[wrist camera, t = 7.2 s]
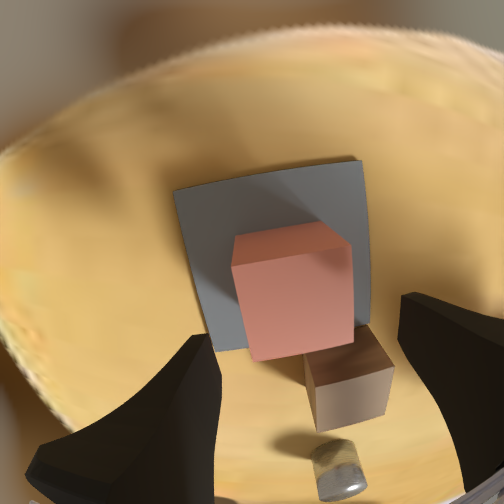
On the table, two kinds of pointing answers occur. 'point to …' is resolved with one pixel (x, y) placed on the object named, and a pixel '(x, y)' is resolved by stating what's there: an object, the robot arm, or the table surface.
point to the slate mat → (265, 218)
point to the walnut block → (348, 381)
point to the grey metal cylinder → (338, 471)
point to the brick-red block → (294, 289)
